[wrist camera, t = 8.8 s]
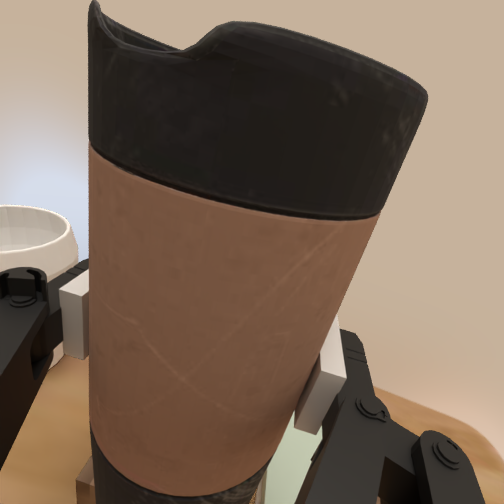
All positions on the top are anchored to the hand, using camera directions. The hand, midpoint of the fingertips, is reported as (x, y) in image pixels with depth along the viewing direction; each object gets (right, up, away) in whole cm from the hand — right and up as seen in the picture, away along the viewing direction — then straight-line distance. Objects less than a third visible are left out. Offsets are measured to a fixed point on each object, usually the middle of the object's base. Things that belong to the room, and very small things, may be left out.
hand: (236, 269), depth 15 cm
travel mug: (-4, -12, +1) cm, 13 cm away
